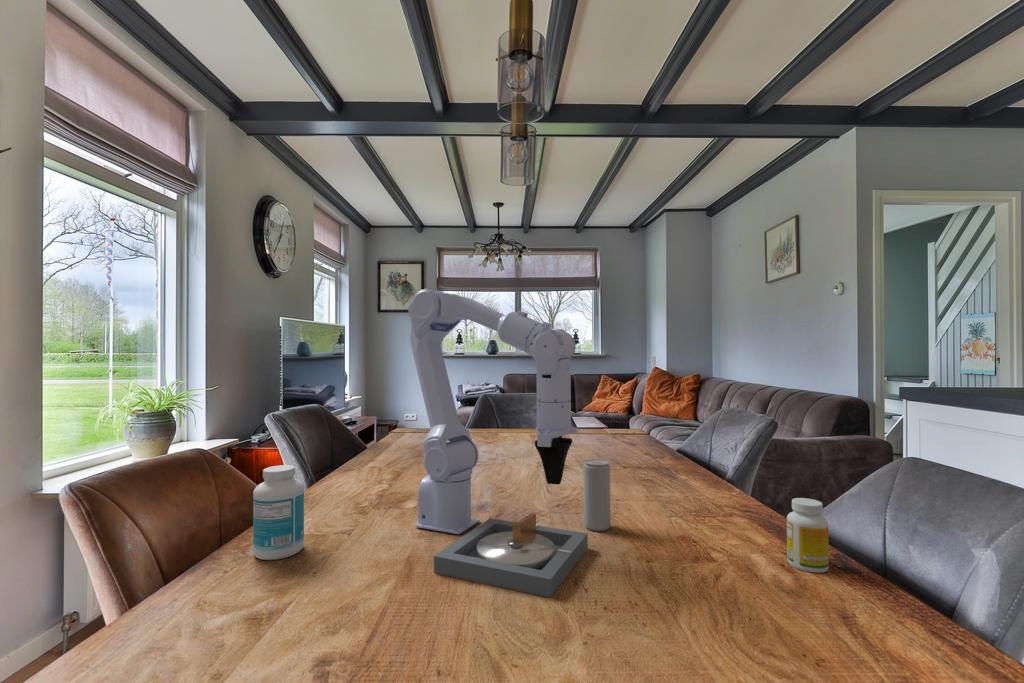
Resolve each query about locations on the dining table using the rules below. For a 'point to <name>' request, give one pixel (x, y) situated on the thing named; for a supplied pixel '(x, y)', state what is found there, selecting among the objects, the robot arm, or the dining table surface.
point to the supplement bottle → (807, 536)
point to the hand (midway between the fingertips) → (554, 483)
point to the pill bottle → (278, 514)
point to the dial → (518, 545)
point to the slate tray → (539, 581)
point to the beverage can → (596, 494)
